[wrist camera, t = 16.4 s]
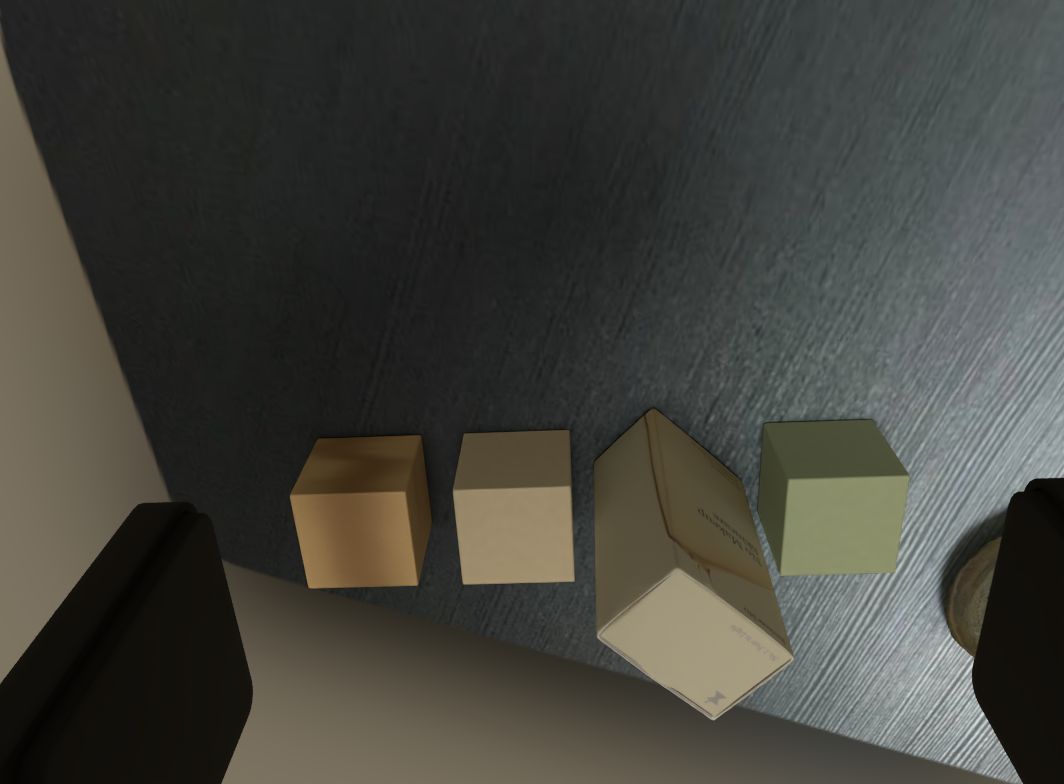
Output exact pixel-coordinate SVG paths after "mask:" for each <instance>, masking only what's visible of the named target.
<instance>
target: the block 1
mask: <svg viewBox="0 0 1064 784" xmlns="http://www.w3.org/2000/svg"><path fill="white" fill-rule="evenodd" d="M290 500H291V504H292V509H293V514H294V519H295V524H296V529H297V534H298V538H299V543H300V548H301V553H302V558H303V563H304V568H305V572H306V577H307V582H308V587H309V588H342V587H379V586H416V585H418V583H419V578H420V574H421V569H422V565H423V560H424V556H425V551H426V547H427V542H428V538H429V533H430V529H431V524H432V517H431V509H430V501H429V493H428V485H427V477H426V469H425V461H424V453H423V445H422V437H421V435H411V436H382V437H353V438H324V439H317V441H316V443H315V445H314V447H313V449H312V451H311V453H310V456H309V458H308V460H307V462H306V464H305V466H304V468H303V470H302V472H301V474H300V476H299V478H298V480H297V482H296V484H295V486H294V488H293V490H292V492H291V494H290Z"/></svg>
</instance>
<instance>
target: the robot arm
mask: <svg viewBox="0 0 1064 784" xmlns="http://www.w3.org/2000/svg"><path fill="white" fill-rule="evenodd" d="M972 683H973V689H974V693H975V696H976V699H977V701H978V703H979V705H980V707H981V709H982V711H983V712H984V714H985V716H986V718H987V720H988V721H989V723H990V725H991V727H992V728H993V730H994V732H995V734H996V736H997V737H998V739H999V741H1000V743H1001V745H1002V746H1003V748H1004V750H1005V752H1006V754H1007V755H1008V757H1009V759H1010V761H1011V763H1012V764H1013V766H1014V768H1015V770H1016V772H1017V773H1018V775H1019V777H1020V779H1021V780H1022V782H1023V784H1064V478H1042V479H1034V480H1032V481H1030V482H1029V483H1028V485H1027V486H1026V488H1025V491H1024V492H1017V493H1015V494H1014V495H1013V496H1012V497H1011V500H1010V503H1009V506H1008V511H1007V515H1006V520H1005V524H1004V529H1003V533H1002V538H1001V542H1000V547H999V551H998V556H997V560H996V565H995V569H994V574H993V578H992V583H991V587H990V592H989V596H988V601H987V605H986V610H985V614H984V619H983V623H982V628H981V632H980V636H979V641H978V645H977V650H976V654H975V659H974V663H973V669H972ZM252 697H253V686H252V680H251V676H250V672H249V668H248V664H247V660H246V656H245V652H244V648H243V644H242V640H241V636H240V632H239V628H238V624H237V620H236V616H235V612H234V608H233V604H232V600H231V596H230V592H229V588H228V584H227V580H226V576H225V572H224V568H223V564H222V560H221V556H220V552H219V548H218V544H217V540H216V536H215V532H214V528H213V524H212V521H211V519H210V517H209V516H208V515H207V514H205V513H202V514H198V513H197V510H196V508H195V507H194V506H193V504H191V503H189V502H165V503H164V502H162V503H142V504H138V505H137V506H136V507H135V508H134V509H133V510H132V512H131V513H130V514H129V516H128V517H127V518H126V520H125V521H124V522H123V524H122V525H121V526H120V527H119V529H118V530H117V531H116V533H115V534H114V535H113V537H112V538H111V539H110V541H109V542H108V543H107V545H106V546H105V547H104V549H103V550H102V551H101V552H100V554H99V555H98V557H97V558H96V559H95V560H94V562H93V563H92V564H91V566H90V567H89V568H88V569H87V571H86V572H85V573H84V575H83V576H82V577H81V579H80V580H79V581H78V583H77V584H76V585H75V587H74V588H73V589H72V591H71V592H70V593H69V594H68V596H67V597H66V598H65V600H64V601H63V602H62V604H61V605H60V606H59V608H58V609H57V610H56V611H55V613H54V614H53V615H52V617H51V618H50V619H49V621H48V622H47V623H46V625H45V626H44V627H43V629H42V630H41V631H40V633H39V634H38V635H37V636H36V638H35V639H34V641H33V642H32V643H31V644H30V646H29V647H28V648H27V650H26V651H25V652H24V654H23V655H22V656H21V657H20V659H19V660H18V661H17V663H16V664H15V665H14V667H13V668H12V669H11V671H10V672H9V673H8V675H7V676H6V677H5V678H4V680H3V681H2V682H1V684H0V784H221V783H222V780H223V778H224V775H225V773H226V770H227V768H228V765H229V763H230V761H231V758H232V756H233V753H234V751H235V748H236V746H237V743H238V741H239V738H240V736H241V733H242V731H243V728H244V726H245V724H246V721H247V719H248V716H249V713H250V710H251V705H252Z"/></svg>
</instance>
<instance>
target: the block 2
mask: <svg viewBox="0 0 1064 784" xmlns="http://www.w3.org/2000/svg"><path fill="white" fill-rule="evenodd" d="M453 498H454V507H455V516H456V526H457V535H458V544H459V553H460V562H461V571H462V580H463V584H499V583H537V582H573V581H574V580H575V572H574V534H573V503H572V478H571V453H570V431H569V430H551V431H522V432H493V433H465V434H464V435H463V441H462V446H461V451H460V456H459V461H458V466H457V471H456V476H455V482H454V487H453Z"/></svg>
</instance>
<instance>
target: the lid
mask: <svg viewBox="0 0 1064 784" xmlns="http://www.w3.org/2000/svg"><path fill="white" fill-rule="evenodd" d="M1001 538H1002V536H1001V537H999V538H996V539H994V540H992V541H990V542H988V543H987V544H985V545H984V546H983V547H982V548H981V549H980V550H978V551H977V552H976V553H975V554H973V555H972V556H971V557H969V559H968V560H967V561H966V562H965V563H964V564H963V566H962V567H961V568H960V569H959V570H958V572H957V574H956V575H955V576H954V579H953V581H952V582H951V584H950V585H949V588H948V592H947V598H946V607H945V612H946V618H947V624H948V627H949V629H950V632H951V635H952V637H953V638H954V640H955V641H956V642H957V643H958V644H959V645H960V646H961V647H962V648H964V649H965V650H966V651H967V652H968V653H969V654H970V655H972V656H973V657H974V658H975V654H976V650H977V645H978V641H979V636H980V632H981V628H982V623H983V619H984V614H985V610H986V605H987V601H988V596H989V592H990V587H991V583H992V578H993V574H994V569H995V565H996V560H997V556H998V551H999V547H1000V542H1001Z"/></svg>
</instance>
